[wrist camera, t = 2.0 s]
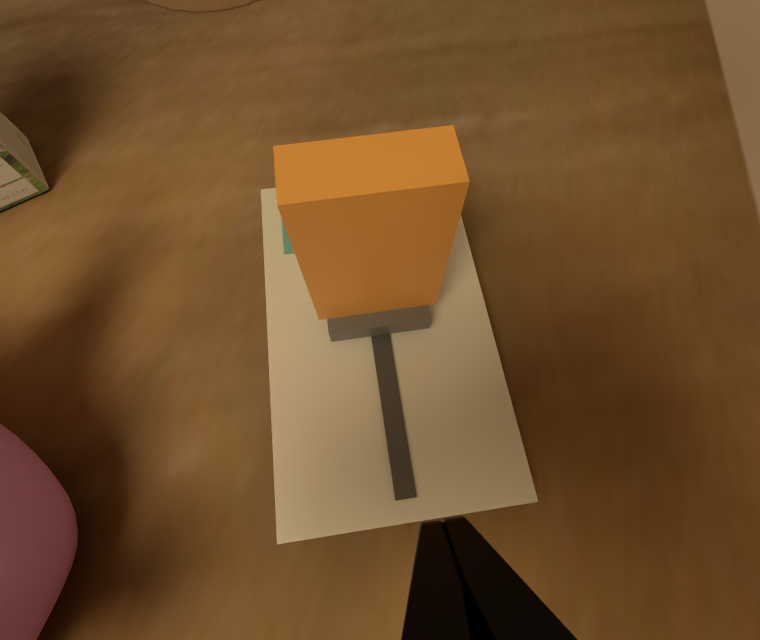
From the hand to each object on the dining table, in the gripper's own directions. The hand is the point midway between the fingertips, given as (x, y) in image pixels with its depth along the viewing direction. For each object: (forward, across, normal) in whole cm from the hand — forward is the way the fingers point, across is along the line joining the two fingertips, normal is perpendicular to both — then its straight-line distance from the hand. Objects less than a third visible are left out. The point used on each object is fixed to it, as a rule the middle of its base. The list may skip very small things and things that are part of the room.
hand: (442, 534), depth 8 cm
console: (+16, 0, +3) cm, 17 cm away
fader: (+16, 0, +1) cm, 16 cm away
